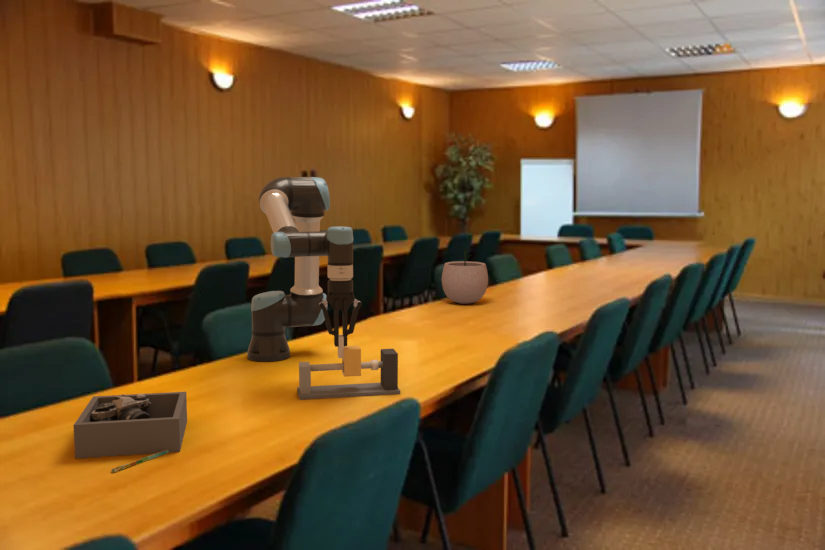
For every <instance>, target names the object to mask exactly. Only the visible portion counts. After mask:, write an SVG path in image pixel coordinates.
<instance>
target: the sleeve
mask: <svg viewBox="0 0 825 550" xmlns="http://www.w3.org/2000/svg"><path fill="white" fill-rule="evenodd" d="M341 362H342V363H344V370H341V372H342V375H343V377H345V378H346V377H347V378H348V377H361V376H362V369H361V362H362V348H361V346H360V345H358V344H356V345H355V344H354V345H347V346H344V358H341Z"/></svg>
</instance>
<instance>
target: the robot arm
mask: <svg viewBox="0 0 825 550" xmlns="http://www.w3.org/2000/svg"><path fill="white" fill-rule="evenodd" d="M330 199H331V198H330V191H329V186H328V184H327V181H326V180H325V179H324V178H322V177H316V176H315V177H314V176H280V177H276V178H273V179H271V180H270V181H268V182H267V183H265V185H264V186H263V187H262V188H261V190H260V191H259V196H258V204H259V208H260V209H261V212H263V213H264V214H265V215H266V217H267V220H268V223H269V225H270V228H271V230H272V232H273V233H272V234H271V235H270V236H271V237H270V249H271V250H270V251H271V254H272V255H273V257H275V258H284V259H285V258H294V285H293V286H292V287H291V288H290V291H289V292H290V293H289V294H285V292H284V291H282V290H271V291H270V290H269V291H266V292H262V293H258V294H255V295H254V296H253V297H252V298H251V306H250V307H251V308H250V311H251V339H250V343H249V345H248V349H247V356H246V357H247V359H248V360H250V361H255V362H277V361H282V360H287V359H289V358H290V357H291V349H290V346H289V343H288V339H287V337H286V334H285V333H286V328H296V327H313V326H314V327H315V326H319V325H322V324H323V323H324V322H325V325H326V329H327V332H328V335H332V336H333V345H334V346H335V347H337V357H338V359H342V358H344V346H348V336H349V335H352V334H354V331H355V327H356V324H357V318H358V315H359V311H360V309H361V307H362V306H363V303H362V301H360V300H358V299H356V297H355V294H354V280H353V278H354V233H353V232H354V231H353V228H352V227H350V226H342V225H341V226H340V225H337V226H330V227H328V228H327V230H324V231H323V230H322V231H321V225H320V224H321V221H322V219H323V218H324V217H325V212H327V211H329V210H330V209H331V207H330V206H331V200H330ZM320 257H327V278H328V280H327V294H326V293H324V292H323V288H322V287H321V286H320V285H319V283H320V278H319V277H320ZM328 304H329V306H330V307H331V308H332V310H333V327H332V324H331V320H330V316H329V312H328V307H329V306H328ZM352 304H353V308H352V309H353V310H352V314H351V317H350V318H351V319H350V322H349V327H348V312H349V311H348V309H350V307H351V306H352ZM340 311H341V312H342V313H341V314H342V315H341V316H342V318H341V319H342V328H341V329H342V334H340V332H339V331H340V325H339V324H340V321H339V319H340Z"/></svg>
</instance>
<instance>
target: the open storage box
mask: <svg viewBox="0 0 825 550" xmlns="http://www.w3.org/2000/svg"><path fill="white" fill-rule="evenodd" d="M138 394H139V393H136V394H126V395H127V396H126V397H131V398H132V399H135V398H136V397H137V395H138ZM144 394H145V395H146V396H147V397H148V399H149V402H150V403H151V404H150V405H149V407H150V416H151V417H152V418H150V419H134V420H117V421H100V422H91V413H92V412H93V411H95V410H96V408H97V407H98V406H99V405H100V404H102V403H112V401H113V400H114V399H115V397H116V396H121V395H122V394H117V395H116V394H115V395H97V396H92V397H91V399H90V400H89V401H88V403H87V404H86V406H85V407H84V409H83V410H82V412H81V413H80V415H79V417H78V418H77V419H76V421H75V422H74V423H73V425H72V426H73V439H74V441H73V443H74V459H75V458H81V459H89V458H88V457H95V458H103V457H102V456H110V457H119V456H118V455H124V456H135V454H136V455H137V454H138V455H152V454H155V453H157V452H160V451H163V450H168V451H169V453H178V452H179V453H180V452H181V450H182V447H183V445H182V444H183V441H184V436H185V431H186V428H187V424H188V409H187V407H188V404H187V401H188V400H187V391H171V392H152V393H144ZM138 455H137V456H138Z"/></svg>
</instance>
